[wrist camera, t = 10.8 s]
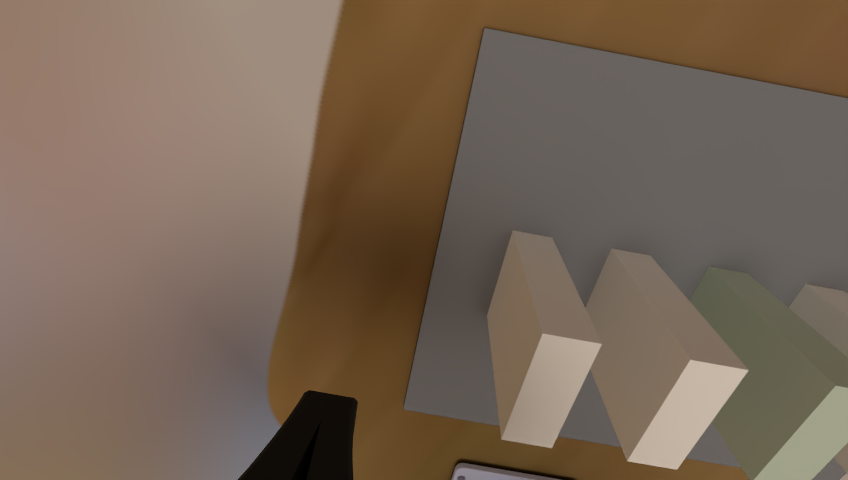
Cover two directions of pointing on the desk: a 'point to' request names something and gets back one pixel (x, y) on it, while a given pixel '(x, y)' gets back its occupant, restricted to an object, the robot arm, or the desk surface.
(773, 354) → the sage domino
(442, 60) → the desk surface
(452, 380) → the charcoal mat
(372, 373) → the desk surface
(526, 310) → the domino
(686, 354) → the domino
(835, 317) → the domino
